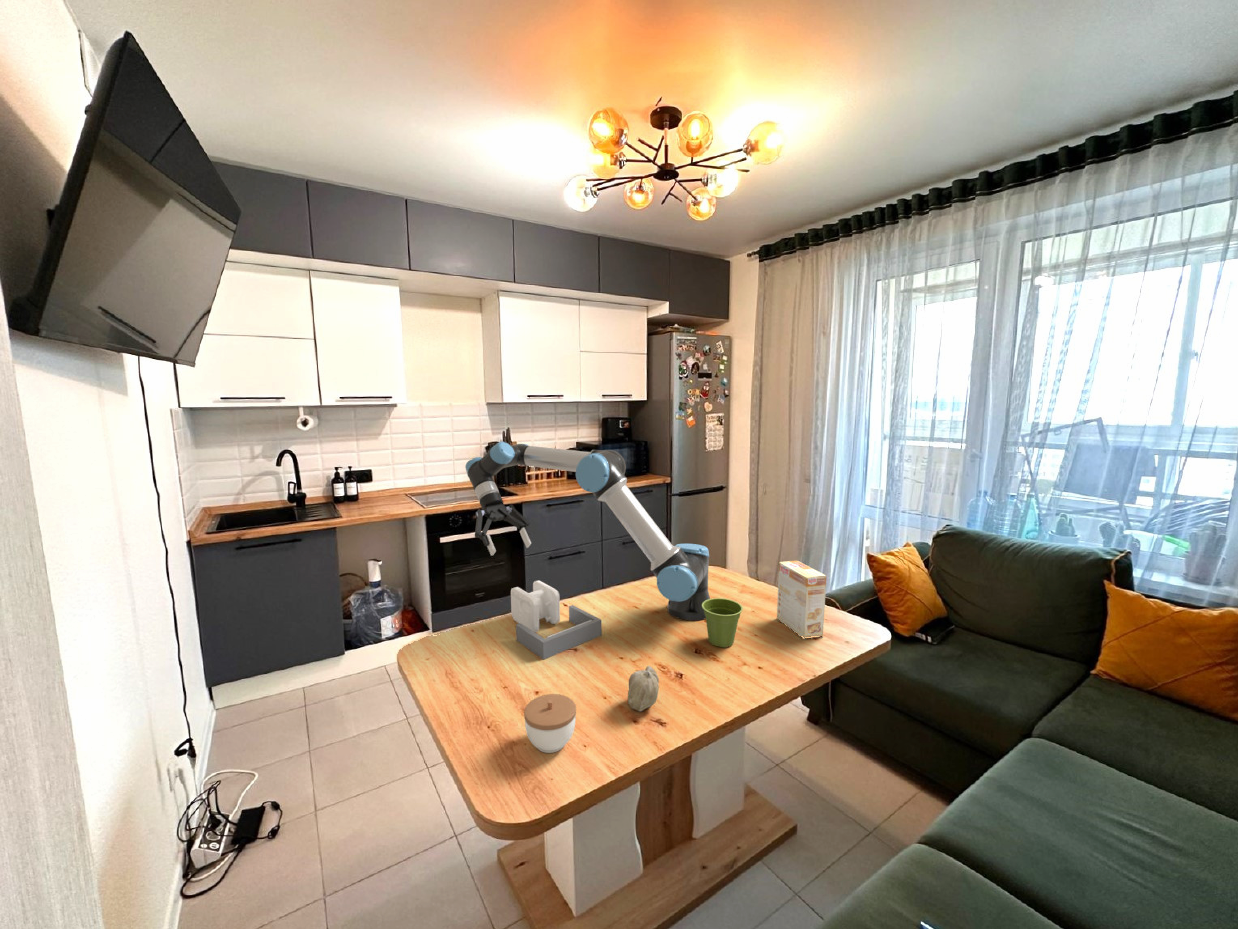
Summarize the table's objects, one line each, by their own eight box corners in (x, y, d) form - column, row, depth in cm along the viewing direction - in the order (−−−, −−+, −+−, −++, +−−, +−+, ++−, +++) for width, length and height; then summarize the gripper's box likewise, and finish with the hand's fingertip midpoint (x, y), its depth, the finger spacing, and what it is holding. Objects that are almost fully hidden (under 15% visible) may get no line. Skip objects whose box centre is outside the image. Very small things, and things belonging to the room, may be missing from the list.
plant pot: (693, 642, 146) (693, 606, 145) (715, 629, 155) (716, 594, 153) (727, 656, 138) (729, 618, 137) (749, 642, 147) (750, 605, 145)
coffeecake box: (823, 637, 149) (827, 575, 147) (803, 640, 148) (806, 577, 145) (794, 616, 164) (797, 559, 161) (775, 618, 162) (778, 561, 159)
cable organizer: (562, 626, 156) (561, 591, 155) (532, 637, 150) (532, 600, 148) (537, 611, 168) (537, 578, 166) (509, 620, 161) (508, 586, 159)
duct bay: (601, 635, 151) (601, 619, 150) (543, 659, 137) (543, 642, 136) (572, 619, 161) (572, 605, 161) (516, 640, 147) (516, 624, 147)
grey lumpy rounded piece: (645, 703, 121) (652, 661, 123) (666, 716, 114) (673, 671, 115) (613, 703, 116) (620, 659, 118) (633, 717, 109) (640, 670, 111)
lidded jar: (539, 722, 110) (538, 683, 109) (583, 731, 107) (583, 691, 106) (515, 755, 100) (514, 712, 99) (564, 766, 97) (563, 722, 96)
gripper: (515, 498, 184) (538, 547, 176) (452, 507, 167) (473, 562, 158) (523, 487, 179) (547, 537, 171) (459, 495, 162) (481, 551, 154)
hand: (511, 549), depth 165 cm, fingers open, 13 cm apart
